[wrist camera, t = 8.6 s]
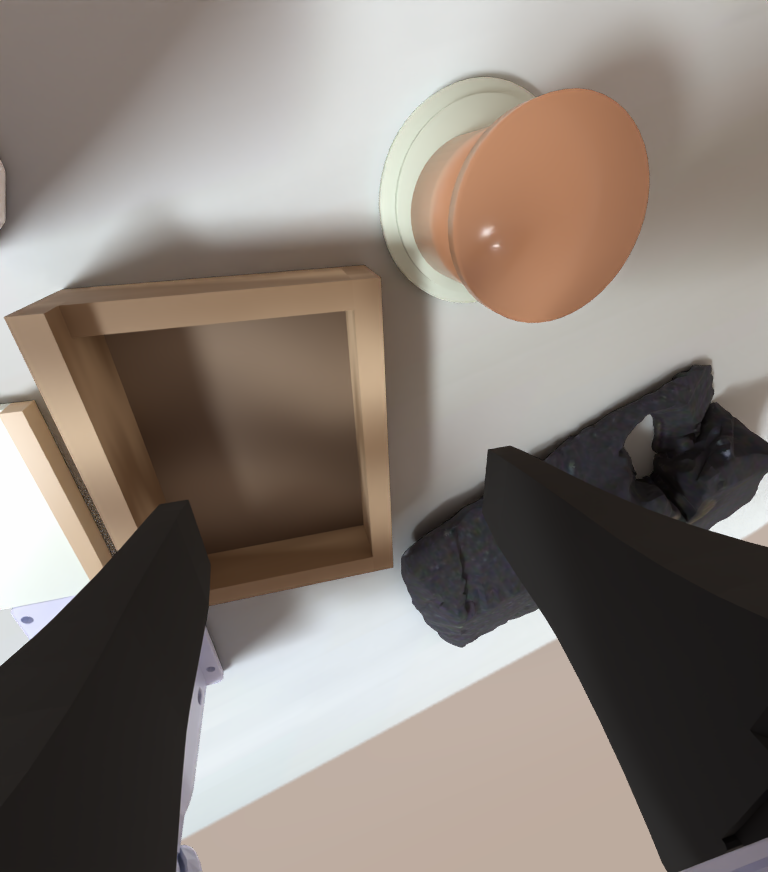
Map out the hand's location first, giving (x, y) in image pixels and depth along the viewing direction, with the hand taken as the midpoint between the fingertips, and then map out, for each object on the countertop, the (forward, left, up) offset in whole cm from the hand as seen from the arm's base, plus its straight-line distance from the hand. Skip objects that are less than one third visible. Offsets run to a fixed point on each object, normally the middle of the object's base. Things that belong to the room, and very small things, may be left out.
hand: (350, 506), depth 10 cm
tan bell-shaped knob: (+6, -7, -9) cm, 13 cm away
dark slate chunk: (-13, -15, -11) cm, 22 cm away
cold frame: (-3, +3, -10) cm, 11 cm away
